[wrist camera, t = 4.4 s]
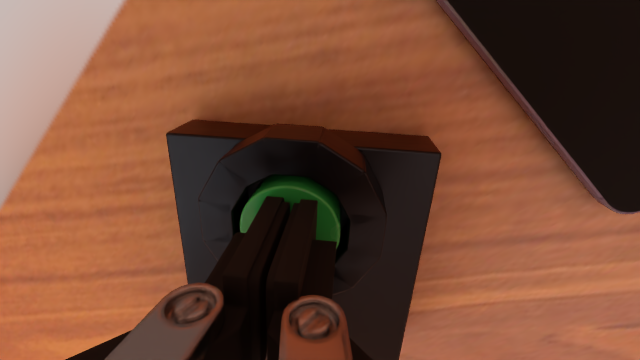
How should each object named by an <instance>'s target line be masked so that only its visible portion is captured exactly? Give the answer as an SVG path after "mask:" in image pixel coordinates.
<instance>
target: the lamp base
mask: <svg viewBox="0 0 640 360" xmlns="http://www.w3.org/2000/svg"><path fill="white" fill-rule="evenodd" d="M166 137H167V144H168V151H169V158H170V165H171V171H172V178H173V185H174V192H175V199H176V205H177V212H178V219H179V226H180V233H181V239H182V246H183V253H184V260H185V267H186V273H187V280H188V284H193V283H205V282H206V280H207V278H208V277H209V275H210V273H211V272H212V270H213V269H214V267H215V265H216V264H217V262H218V260H219V259H220V257H221V256H222V254H223V252H224V251H225V249H226V247H227V246H228V244H229V243H230V241H231V239H232V238H233V236H234V235H235V234H236V233H237V232H240V218H241V214H242V211H243V209H244V207H245V205H246V203H247V202H248V200H249V199H250V197H251V195H252V194H253V192H254V191H255V189H256V188H257V186H258V185H259V183H260V182H261V181H262V180H263V179H266V178H268V177H270V176H272V175H274V174H276V175H288V176H300V177H309V178H311V179H312V180H314V181H315V182H317V183H319V184H320V185H322V186H323V187H325V188H326V189H328V190H330V191H331V192H333V193H334V194H335V195H336V197H337V198H338V200H339V202H340V204H341V206H342V219H341V235H340V242H339V245H338V247H337V249H336V259H335V271H334V283H333V295H332V300H333V301H335V302H336V303H337V304H339V306H340V307H341V308H342V309H343V311H344V314H345V316H346V321H347V327H348V333H349V337H350V338H351V339H352V340H353V341H354V342H355V343H356V344H357V345H358V346H359V347H360V348H361V349H362V350H363V351H364V352H365V353H366V354H367V355H368V356H369V357H370V358H371V359H373V360H399V356H400V351H401V346H402V342H403V337H404V332H405V327H406V322H407V318H408V313H409V308H410V303H411V299H412V294H413V289H414V284H415V279H416V275H417V270H418V265H419V260H420V255H421V251H422V246H423V241H424V236H425V231H426V227H427V222H428V217H429V212H430V208H431V203H432V198H433V193H434V188H435V184H436V179H437V174H438V169H439V164H440V160H441V152H440V151H439V150H438V148H437V147H436V146H435V144H434V143H433V142H432V141H431V139H430V138H429V137H428V136H416V135H401V134H387V133H373V132H359V131H345V130H330V129H326V128H324V127H318V126H304V125H290V124H275V125H260V124H245V123H231V122H217V121H203V120H191V121H189V122H187V123H185V124H183V125H181V126H179V127H177V128H175V129H173V130H172V131H170V132H168V133H167V134H166Z"/></svg>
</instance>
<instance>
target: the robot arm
mask: <svg viewBox="0 0 640 360" xmlns="http://www.w3.org/2000/svg"><path fill="white" fill-rule="evenodd" d="M317 208H318V201H317V200H305V199H301V200H300V203H294V204H293V207H292V210H291V212H290V203H289V202H284V198H282V197H271V196H267V197H266V198H265V200H264V202H263V203H262V205H261V207H260V209H259V211H258V212H257V214H256V216H255V218H254V219H253V221H252V223H251V225H250V227H249V228H248V230H247V232H246V233H241V232H237V233H236V234H235V235H234V236H233V238H232V239H231V241H230V243H229V244H228V246H227V247H226V249H225V251H224V252H223V254H222V256H221V257H220V259H219V260H218V262H217V264H216V265H215V267H214V269H213V270H212V272H211V273H210V275H209V277H208V278H207V280H206V282H205V283H193V284H188V285H184V286H181V287H179V288H177V289H175V290H173V291H171V292H170V293H169V294H167V295H166V296H165V297H164V298H163V299H162V300H161V301H160V302H159V303H158V304H157V305H156V306H155V307H154V308H153V309H152V310H151V311H150V312H149V313H148V314H147V316H146V317H145V318H144V319H143V320H142V321H141V322H140V323H139V324H138V325H137V326H136V327H135V328H134V329H133V330H131V331H129V332H127V333H124V334H122V335H120V336H118V337H115V338H113V339H111V340H109V341H106V342H104V343H102V344H100V345H97V346H95V347H93V348H91V349H88V350H86V351H84V352H82V353H79V354H77V355H75V356H73V357H70V358H68V359H66V360H266V356H267V360H373V359H371V358H370V357H369V356H368V355H367V354H366V353H365V352H364V351H363V350H362V349H361V348H360V347H359V346H358V345H357V344H356V343H355V342H354V341H353V340H352V339H351V338H350V337H349V333H348V327H347V321H346V316H345V314H344V311H343V309H342V308H341V307H340V306H339V304H337V303H336V302H335V301H333V300H332V295H333V283H334V271H335V259H336V247H337V242H335V241H325V240H316V228H317Z"/></svg>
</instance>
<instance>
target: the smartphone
mask: <svg viewBox="0 0 640 360" xmlns="http://www.w3.org/2000/svg"><path fill="white" fill-rule="evenodd" d="M436 1H437V2H438V3H439V5H440V6H441V7H442V8H443V10H444V11H445V12H446V13H447V15H448V16H449V17H450V18H451V20H452V21H453V22H454V23H455V25H456V26H457V27H458V28H459V30H460V31H461V32H462V33H463V35H464V36H465V37H466V38H467V40H468V41H469V42H470V43H471V45H472V46H473V47H474V48H475V50H476V51H477V52H478V53H479V55H480V56H481V57H482V58H483V60H484V61H485V62H486V63H487V65H488V66H489V67H490V68H491V70H492V71H493V72H494V73H495V75H496V76H497V77H498V78H499V80H500V81H501V82H502V83H503V85H504V86H505V87H506V88H507V90H508V91H509V92H510V93H511V95H512V96H513V97H514V98H515V100H516V101H517V102H518V103H519V105H520V106H521V107H522V108H523V110H524V111H525V112H526V113H527V115H528V116H529V117H530V118H531V120H532V121H533V122H534V123H535V125H536V126H537V127H538V128H539V130H540V131H541V132H542V133H543V135H544V136H545V137H546V138H547V140H548V141H549V142H550V143H551V145H552V146H553V147H554V148H555V150H556V151H557V152H558V153H559V155H560V156H561V157H562V158H563V160H564V161H565V162H566V163H567V165H568V166H569V167H570V168H571V170H572V171H573V172H574V173H575V175H576V176H577V177H578V178H579V180H580V181H581V182H582V183H583V185H584V186H585V187H586V188H587V190H588V191H589V192H590V193H591V195H592V196H593V197H594V198H595V199H596V200H597V201H598V202H599V203H601V204H603V205H604V206H606V207H607V208H609V209H610V210H612V211H614V212H616V213H620V214H634V213H638V212H640V0H436Z"/></svg>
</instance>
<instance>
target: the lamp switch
mask: <svg viewBox="0 0 640 360" xmlns="http://www.w3.org/2000/svg"><path fill="white" fill-rule="evenodd" d="M267 196H271V197H282V198H284V202H289V203H290V212H291V210H292V207H293V204H294V203H300V200H301V199H305V200H317V201H318V208H317V228H316V240H325V241H335V242H337V247H338V245H339V242H340V235H341V219H342V206H341V204H340V202H339V200H338V198H337V197H336V195H335V194H334V193H333V192H331V191H330V190H328V189H326V188H325V187H323V186H322V185H320V184H319V183H317V182H315V181H314V180H312V179H311V178H309V177H300V176H288V175H276V174H274V175H272V176H270V177H268V178H266V179H263V180H262V181H261V182H260V183H259V185H258V186H257V188H256V189H255V191H254V192H253V194H252V195H251V197H250V199H249V200H248V202H247V203H246V205H245V207H244V209H243V211H242V214H241V218H240V232H241V233H246V232H247V230H248V228H249V227H250V225H251V223H252V221H253V219H254V218H255V216H256V214H257V212H258V211H259V209H260V207H261V205H262V203H263V202H264V200H265V198H266V197H267ZM337 247H336V249H337Z"/></svg>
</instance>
